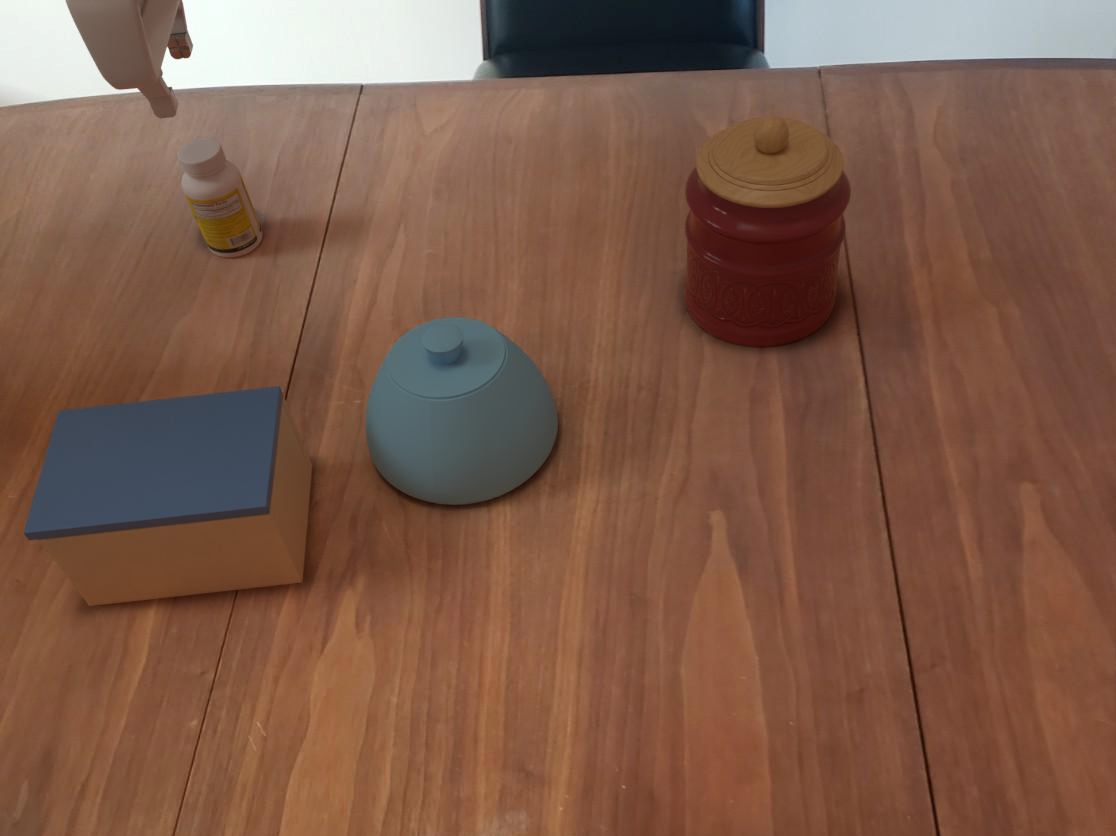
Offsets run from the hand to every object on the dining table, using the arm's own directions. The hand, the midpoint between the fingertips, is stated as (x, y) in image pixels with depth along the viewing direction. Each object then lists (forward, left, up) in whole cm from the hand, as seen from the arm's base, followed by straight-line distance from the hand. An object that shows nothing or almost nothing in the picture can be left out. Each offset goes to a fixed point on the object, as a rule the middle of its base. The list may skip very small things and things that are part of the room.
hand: (176, 83), depth 92 cm
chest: (+2, -38, -16) cm, 41 cm away
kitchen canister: (+48, -18, -16) cm, 54 cm away
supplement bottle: (0, 0, -16) cm, 16 cm away
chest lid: (+1, -38, -7) cm, 39 cm away
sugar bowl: (+22, -31, -16) cm, 41 cm away
